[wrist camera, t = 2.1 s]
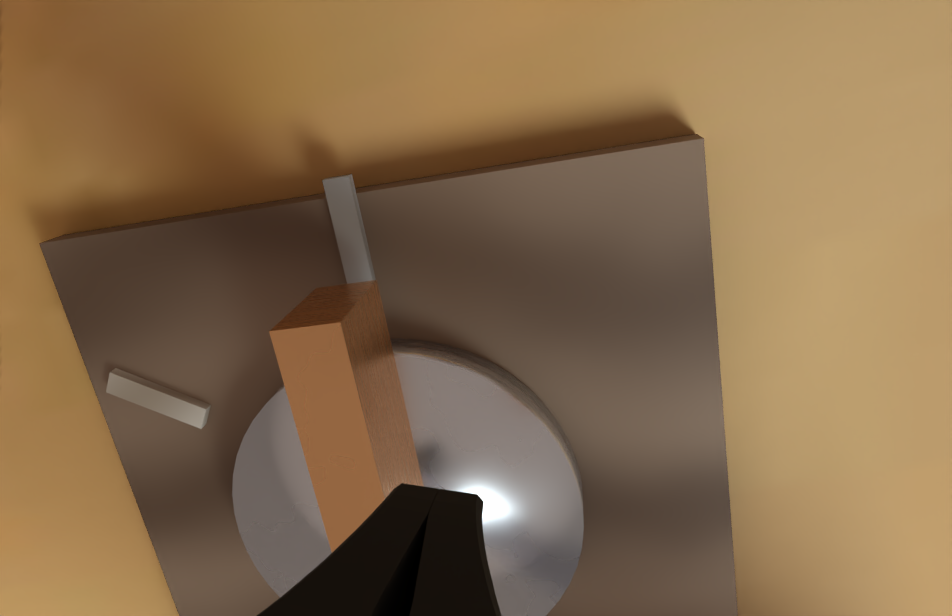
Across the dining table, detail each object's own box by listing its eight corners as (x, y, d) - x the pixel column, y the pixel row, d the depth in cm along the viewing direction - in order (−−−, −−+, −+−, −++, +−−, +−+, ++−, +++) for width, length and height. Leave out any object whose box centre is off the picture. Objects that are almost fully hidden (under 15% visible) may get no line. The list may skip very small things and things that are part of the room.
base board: (737, 688, 23) (747, 723, 22) (233, 703, 26) (217, 734, 25) (695, 113, 18) (704, 117, 16) (57, 218, 21) (24, 228, 19)
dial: (602, 622, 22) (610, 754, 18) (296, 636, 23) (238, 759, 19) (546, 244, 18) (540, 300, 14) (188, 293, 20) (87, 356, 16)
